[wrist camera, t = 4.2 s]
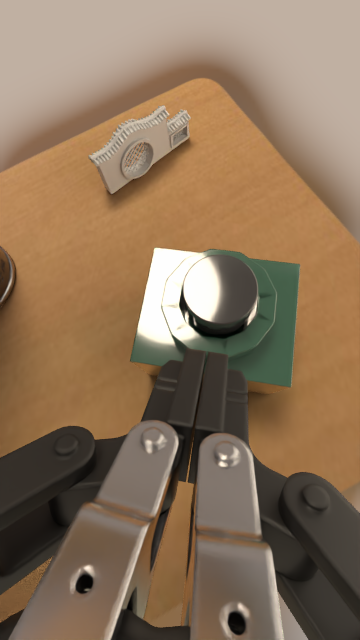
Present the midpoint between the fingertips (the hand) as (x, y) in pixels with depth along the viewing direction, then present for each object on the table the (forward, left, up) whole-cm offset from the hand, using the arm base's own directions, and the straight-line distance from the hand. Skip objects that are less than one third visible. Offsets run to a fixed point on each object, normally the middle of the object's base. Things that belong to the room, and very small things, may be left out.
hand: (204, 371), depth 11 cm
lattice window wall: (-10, +25, -18) cm, 32 cm away
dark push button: (0, +6, -8) cm, 10 cm away
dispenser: (0, +6, -18) cm, 19 cm away
